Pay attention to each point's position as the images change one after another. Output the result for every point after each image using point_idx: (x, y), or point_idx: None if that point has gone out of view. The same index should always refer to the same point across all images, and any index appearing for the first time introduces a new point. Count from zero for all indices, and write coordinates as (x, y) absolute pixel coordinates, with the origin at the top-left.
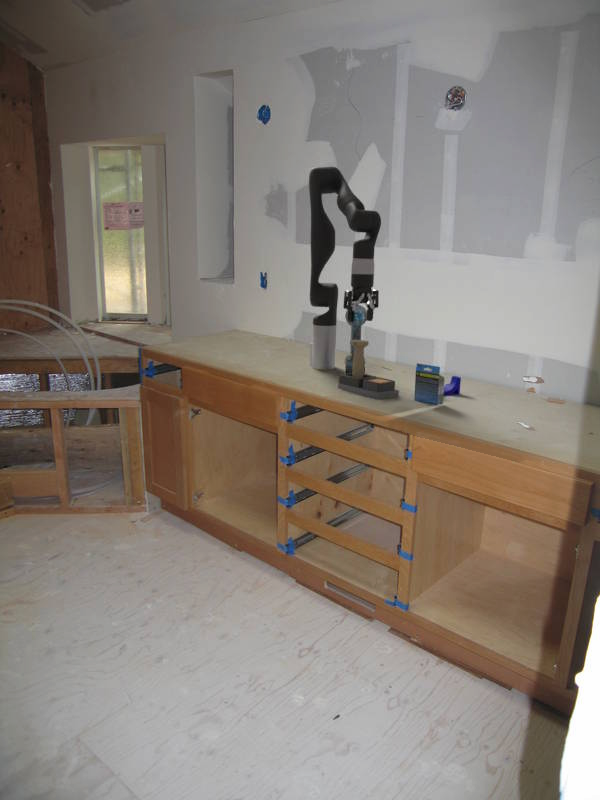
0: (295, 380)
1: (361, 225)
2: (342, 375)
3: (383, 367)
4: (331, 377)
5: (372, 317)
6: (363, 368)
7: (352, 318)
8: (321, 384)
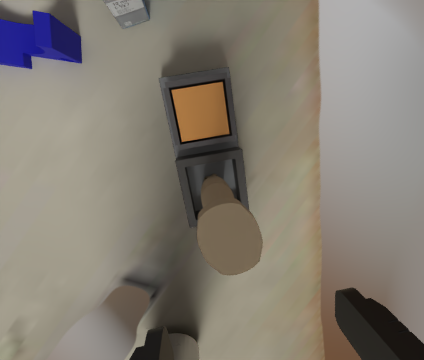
0: (270, 293)
1: None
2: (248, 206)
3: (17, 351)
4: (189, 297)
5: (143, 353)
6: (208, 184)
7: (373, 312)
8: None
